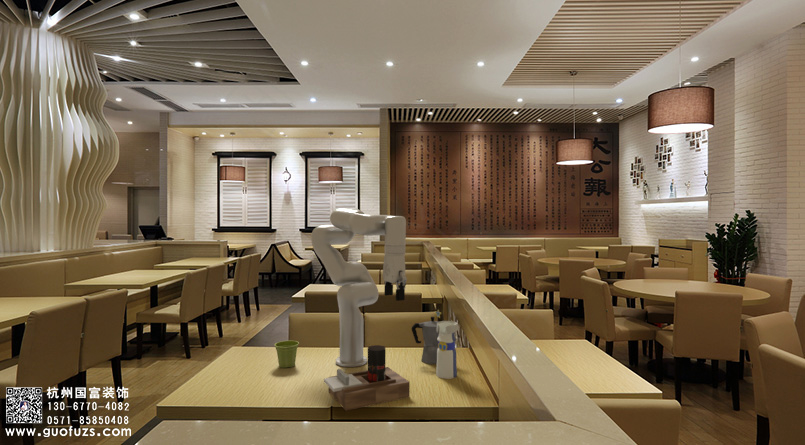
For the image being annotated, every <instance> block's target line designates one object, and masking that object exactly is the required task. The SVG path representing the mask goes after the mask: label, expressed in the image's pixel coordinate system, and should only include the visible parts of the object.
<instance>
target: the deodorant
mask: <svg viewBox="0 0 805 445" xmlns="http://www.w3.org/2000/svg"><path fill="white" fill-rule="evenodd" d="M385 367H386V347H385V346H384V345H379V344H378V345H376V344H375V345H374V344H373V345H371V346H368V347H367V370H368V382H369V383H374V382H379V381H384V380H385Z"/></svg>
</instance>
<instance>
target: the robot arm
mask: <svg viewBox="0 0 805 445" xmlns="http://www.w3.org/2000/svg"><path fill="white" fill-rule="evenodd" d="M329 221H330V223H331V224H324V225H319V226H316V227H315V228H313V230H312V232H311V235H310V240H311V241H310V242H311V246H312V248H313V250H314V252H315V254H316V256H317V257H318V259H320V261H321V263H322V264H323V267H324V268H325V270H326V272H327V274H328V276H329V278H330V280H331V281H332V283H333V284H334V285H335V286H338V287H339V288H338V290H337V292H336V299H337V305H338V310H339V312H338V313H339V314H338V315H339V356H338V357H337V358H336V359H335V364H336V365H338V366H340V367H344V368H345V367H347V368H355V367H361V366H364V365H366V364H368V357H366V356H365V355H364V315H363V313H362V312H361V310H360V309H359V307H364V306H370V305H374V304H375V303H376V302H377V301H378V298H379V296H380V295H379V289H378V286H377V284H376V282H375V281H374V279H373V277H372V275H371V274H370V272H369V270H368V268H367V267H366V265H364V264H363V263H362V262H359V261H350V262H348V261H346V260H345V259H344V257H343V255H342V253H341V252H340V251H339V250H338V248H335V247H334V246H332V245H346V244H348V243H350V242H351V241H352V240H353V239H354V237H355V236H356V235H360V236H361V235H362V236H369V237H370V236H384V252H383V253H384V257H383V258H384V259H383V265H382V266H383V267H382V280H384V282H383V283H384V294H383V295H384V296H393V294H394V284H395V286H396V289H395V301H400V302H401V301H405V299H406V298H405V297H406V295H405V294H406V293H405V291H406V290H405V289H406V285H407V281H408V278H407V276H406V259H405V258H406V257H405V255H406V244H407V243H406V242H407V240H406V238H407V237H406V235H407V220H406V218H405V216H401V215H390V214H365V213H364V212H363V211H362V210H360V209H358V208H343V207H342V208H337V209H335V210H333V211H332V212H331V214H330V216H329Z"/></svg>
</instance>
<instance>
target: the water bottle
mask: <svg viewBox="0 0 805 445" xmlns="http://www.w3.org/2000/svg"><path fill="white" fill-rule="evenodd" d="M435 314H436V315H435V316H436V317H435V318H439V319H441V315H442V312H440V309H439V308H438V309H437V311H435ZM437 322H438V323H437V333H438V328H439V337H438V338H437V340H438V350H437V364H436V369H435V370H436V374H435V375H436V376H437V378H441V379H447V380H449V379H455V378H457V377H458V370H457V367H458V366H457V349H456V341H457V338H456V336H455V333H456V332H457V331H459V330H460V326H459V324H458V322H456V321H452V320H442V321H437Z"/></svg>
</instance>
